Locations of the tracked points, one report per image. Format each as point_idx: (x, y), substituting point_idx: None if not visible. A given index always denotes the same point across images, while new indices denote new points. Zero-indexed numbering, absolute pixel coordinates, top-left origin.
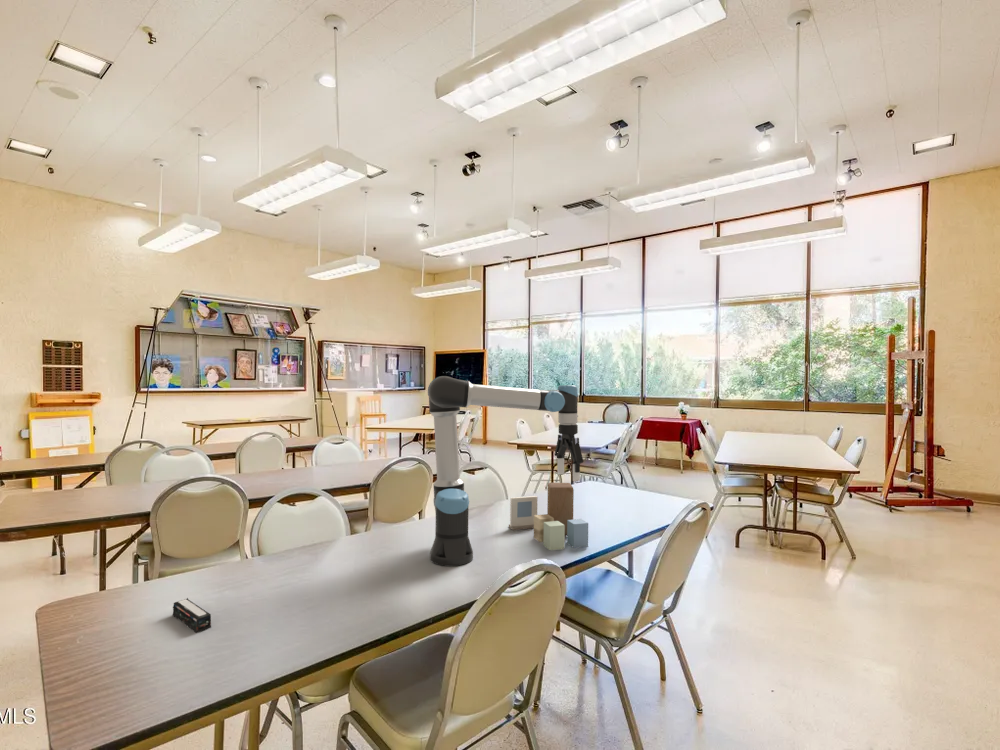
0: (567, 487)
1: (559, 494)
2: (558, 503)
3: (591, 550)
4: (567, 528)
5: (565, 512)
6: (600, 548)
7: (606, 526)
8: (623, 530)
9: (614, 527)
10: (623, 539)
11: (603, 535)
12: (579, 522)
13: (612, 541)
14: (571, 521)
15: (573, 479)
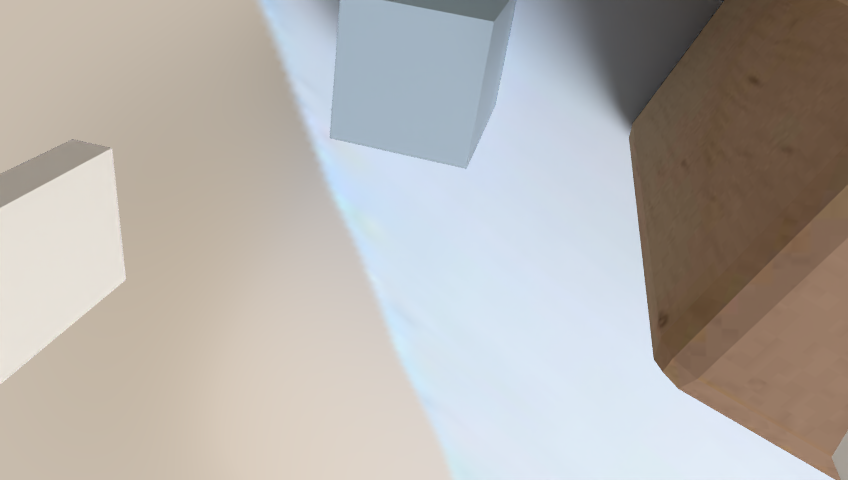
0: (723, 326)
1: (775, 166)
2: (755, 110)
3: (311, 49)
4: (498, 5)
5: (682, 147)
6: (324, 128)
7: (665, 451)
8: (542, 463)
9: (618, 468)
10: (408, 351)
11: (526, 316)
12: (371, 77)
13: (405, 279)
14: (431, 28)
15: (51, 151)
